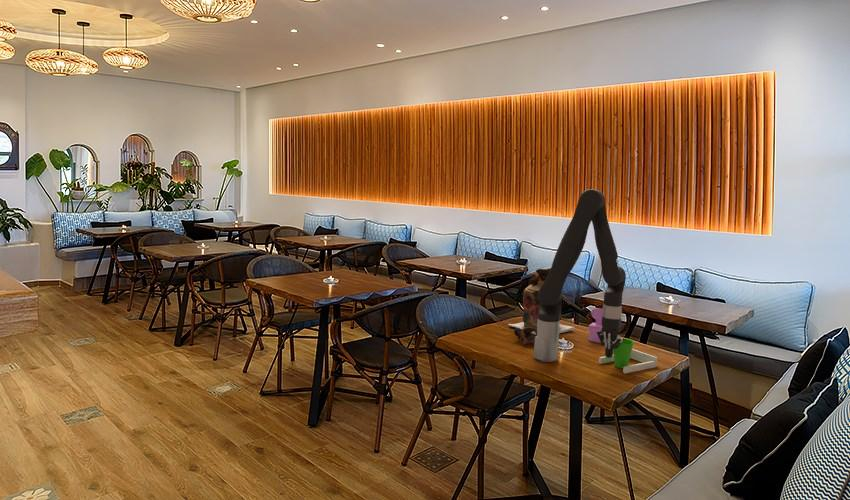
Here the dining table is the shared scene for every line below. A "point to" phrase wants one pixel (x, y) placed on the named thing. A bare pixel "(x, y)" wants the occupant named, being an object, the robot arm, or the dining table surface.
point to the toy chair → (595, 325)
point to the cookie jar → (535, 303)
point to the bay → (647, 359)
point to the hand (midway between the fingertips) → (608, 357)
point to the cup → (623, 353)
